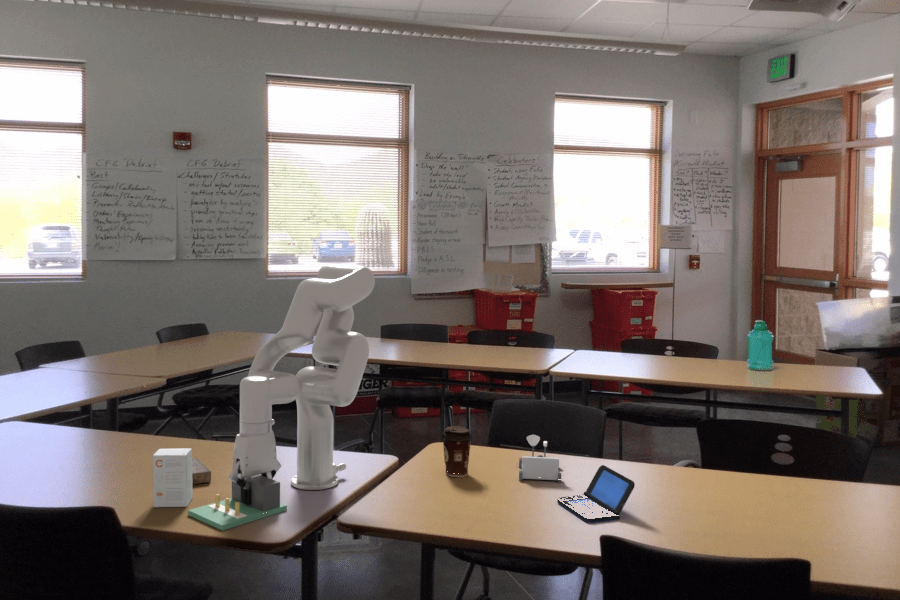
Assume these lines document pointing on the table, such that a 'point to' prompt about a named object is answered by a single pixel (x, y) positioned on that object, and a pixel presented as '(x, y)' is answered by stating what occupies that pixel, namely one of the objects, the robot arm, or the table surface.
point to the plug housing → (260, 492)
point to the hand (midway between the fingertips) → (255, 500)
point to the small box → (172, 477)
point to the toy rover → (538, 464)
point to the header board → (230, 513)
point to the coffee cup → (456, 450)
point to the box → (200, 472)
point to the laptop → (605, 493)
